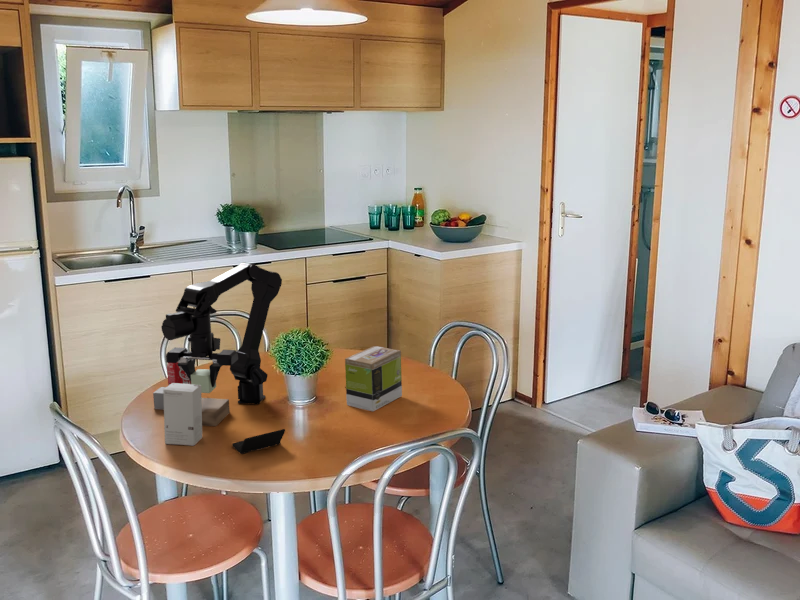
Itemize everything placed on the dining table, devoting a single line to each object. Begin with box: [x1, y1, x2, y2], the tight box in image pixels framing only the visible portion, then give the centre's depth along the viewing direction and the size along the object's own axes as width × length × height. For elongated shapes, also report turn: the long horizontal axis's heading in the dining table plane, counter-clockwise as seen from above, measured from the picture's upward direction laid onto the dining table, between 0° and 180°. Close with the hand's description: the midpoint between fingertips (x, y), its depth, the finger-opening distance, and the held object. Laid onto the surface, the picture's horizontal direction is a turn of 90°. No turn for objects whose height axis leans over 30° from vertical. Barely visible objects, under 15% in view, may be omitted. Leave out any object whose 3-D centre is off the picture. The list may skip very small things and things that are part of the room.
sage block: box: [191, 368, 217, 394], centre depth 211 cm, size 5×5×5 cm
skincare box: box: [163, 383, 203, 446], centre depth 197 cm, size 8×6×15 cm
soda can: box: [166, 361, 191, 386], centre depth 228 cm, size 7×7×12 cm
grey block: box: [152, 386, 167, 411], centre depth 222 cm, size 5×5×5 cm
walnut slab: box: [201, 397, 231, 427], centre depth 213 cm, size 10×10×4 cm
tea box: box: [344, 345, 403, 412], centre depth 224 cm, size 15×10×15 cm
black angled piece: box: [231, 428, 286, 455], centre depth 194 cm, size 12×7×10 cm
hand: (204, 386), depth 211 cm, fingers closed on sage block, 5 cm apart
